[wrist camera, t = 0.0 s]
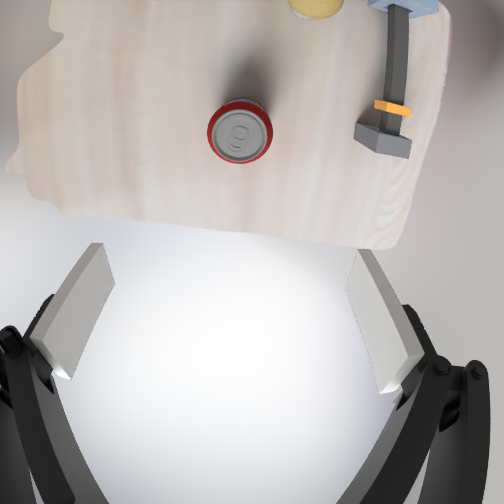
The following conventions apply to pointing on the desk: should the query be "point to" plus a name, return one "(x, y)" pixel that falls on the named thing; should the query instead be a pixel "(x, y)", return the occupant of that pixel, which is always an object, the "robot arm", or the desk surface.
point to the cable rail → (391, 92)
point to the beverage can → (240, 131)
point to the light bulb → (315, 8)
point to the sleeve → (408, 6)
